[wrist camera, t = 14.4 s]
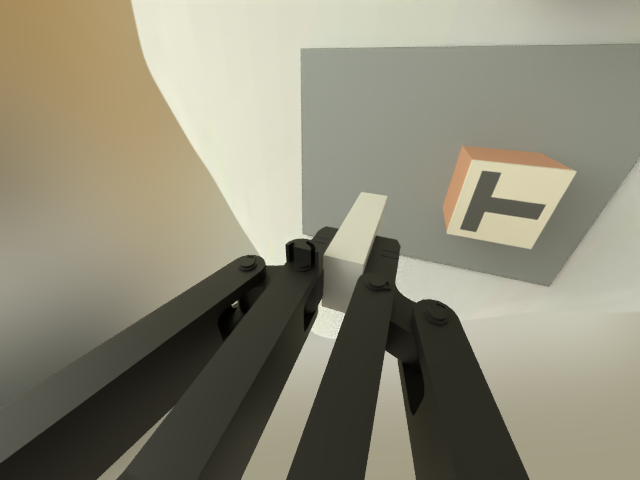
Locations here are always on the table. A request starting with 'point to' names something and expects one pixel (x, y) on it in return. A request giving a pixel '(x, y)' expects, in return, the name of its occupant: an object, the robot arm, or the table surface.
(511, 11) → the table surface
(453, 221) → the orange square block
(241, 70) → the table surface
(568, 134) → the mat
